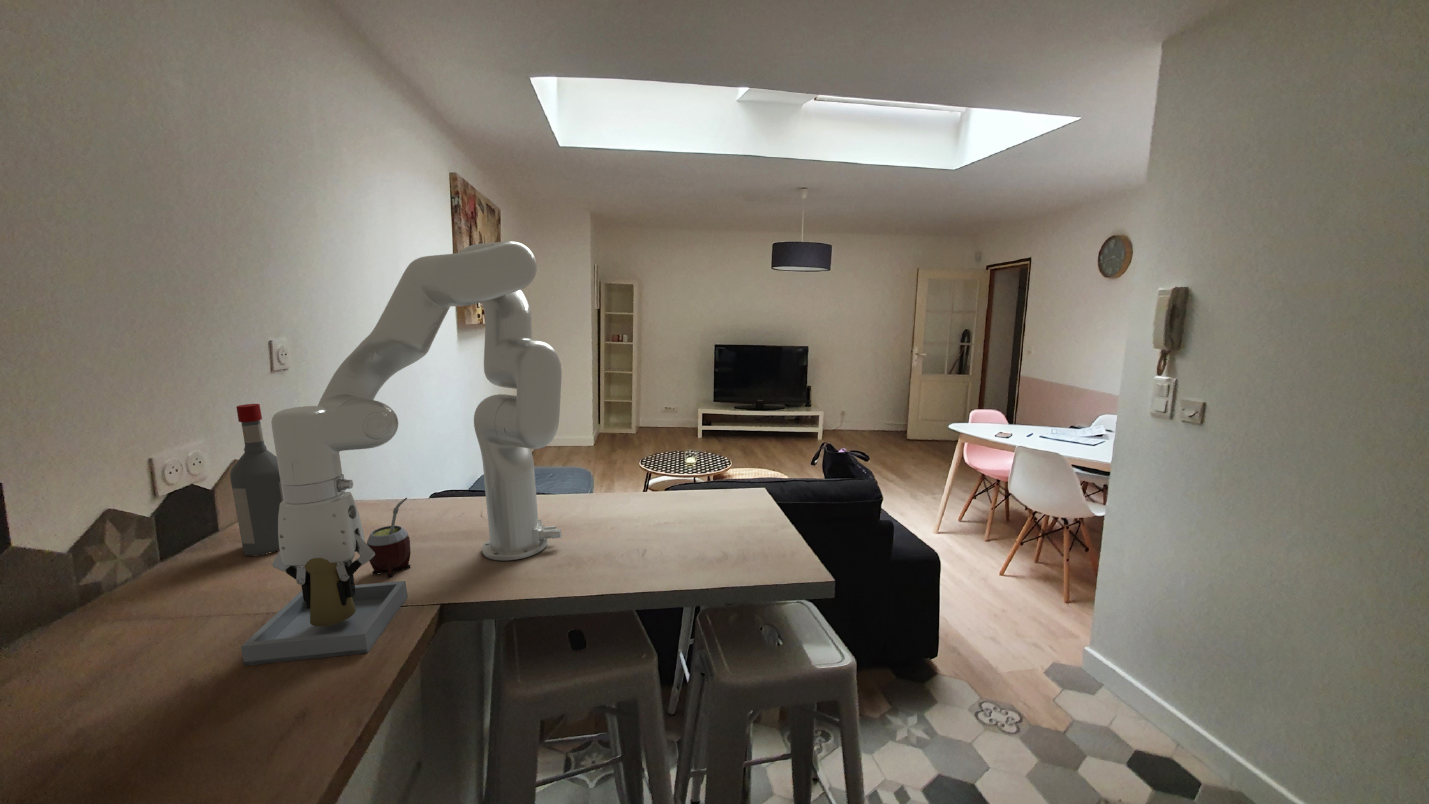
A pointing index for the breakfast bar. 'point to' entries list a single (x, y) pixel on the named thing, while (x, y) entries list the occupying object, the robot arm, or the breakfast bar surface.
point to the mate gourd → (390, 547)
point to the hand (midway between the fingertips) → (330, 601)
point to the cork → (326, 594)
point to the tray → (325, 628)
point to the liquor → (256, 487)
